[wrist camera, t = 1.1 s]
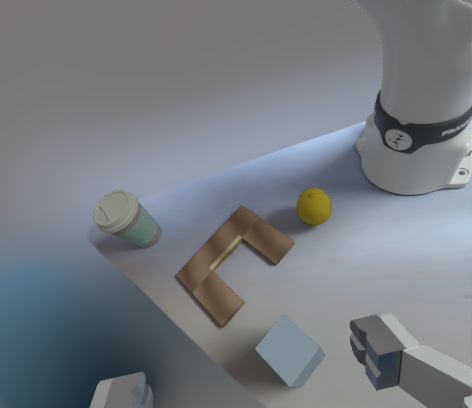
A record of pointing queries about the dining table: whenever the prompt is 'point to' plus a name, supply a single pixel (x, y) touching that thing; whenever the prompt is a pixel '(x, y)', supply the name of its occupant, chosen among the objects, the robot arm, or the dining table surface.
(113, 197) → the coffee cup
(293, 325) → the blue-grey rectangular block
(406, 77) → the robot arm
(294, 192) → the dining table surface
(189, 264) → the wooden u-shaped frame
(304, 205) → the lemon
